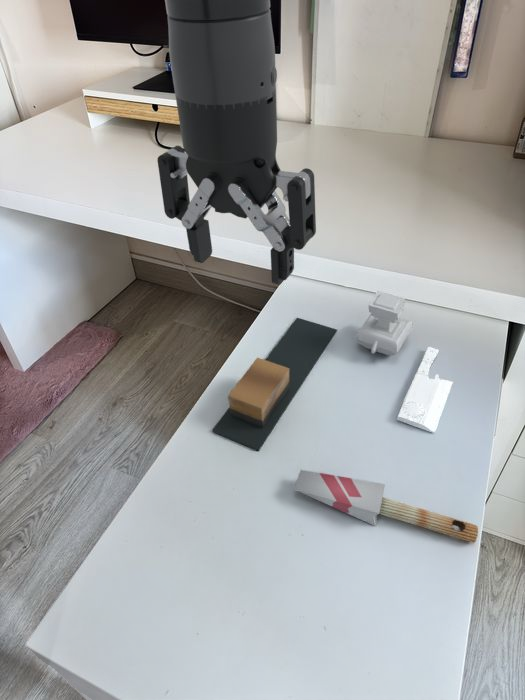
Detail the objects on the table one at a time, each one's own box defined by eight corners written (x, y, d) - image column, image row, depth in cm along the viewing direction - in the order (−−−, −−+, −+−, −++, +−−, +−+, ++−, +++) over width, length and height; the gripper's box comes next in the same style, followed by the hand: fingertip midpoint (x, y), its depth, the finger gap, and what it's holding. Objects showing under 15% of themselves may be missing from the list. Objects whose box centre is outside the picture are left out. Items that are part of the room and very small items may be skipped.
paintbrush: (302, 458, 59) (480, 513, 54) (301, 471, 61) (473, 525, 56) (292, 485, 57) (478, 545, 52) (291, 498, 59) (471, 557, 53)
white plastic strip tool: (461, 360, 74) (463, 355, 73) (433, 434, 65) (435, 429, 64) (426, 350, 76) (428, 344, 75) (395, 419, 67) (396, 414, 66)
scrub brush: (262, 428, 66) (261, 408, 63) (230, 415, 68) (227, 395, 65) (289, 388, 71) (289, 368, 68) (258, 377, 73) (257, 357, 70)
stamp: (392, 370, 74) (400, 326, 68) (350, 355, 76) (354, 311, 71) (412, 334, 79) (421, 290, 73) (372, 321, 82) (378, 278, 76)
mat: (258, 451, 64) (258, 449, 64) (212, 432, 67) (211, 429, 66) (336, 331, 80) (336, 328, 80) (297, 319, 83) (297, 316, 83)
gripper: (117, 89, 38) (158, 271, 49) (289, 111, 32) (290, 310, 43) (176, 63, 42) (201, 235, 53) (334, 79, 37) (325, 266, 48)
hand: (241, 268), depth 48 cm, fingers open, 8 cm apart
